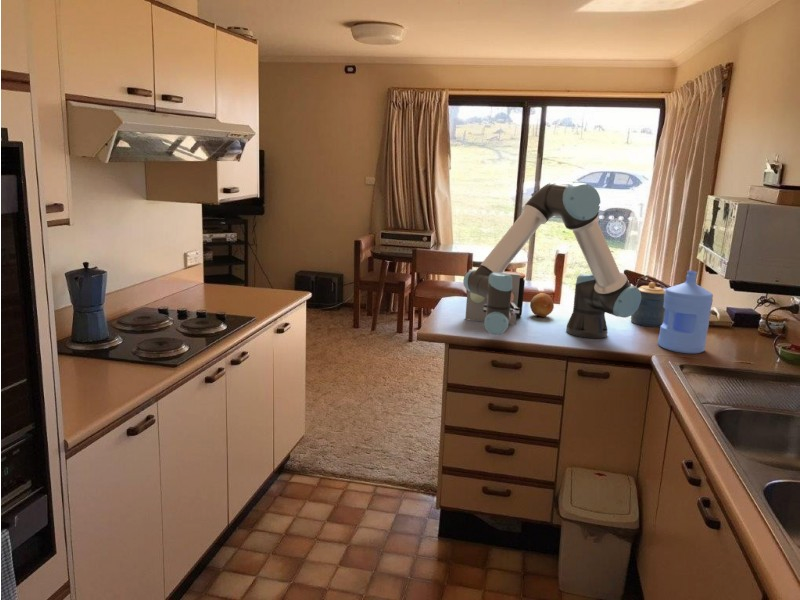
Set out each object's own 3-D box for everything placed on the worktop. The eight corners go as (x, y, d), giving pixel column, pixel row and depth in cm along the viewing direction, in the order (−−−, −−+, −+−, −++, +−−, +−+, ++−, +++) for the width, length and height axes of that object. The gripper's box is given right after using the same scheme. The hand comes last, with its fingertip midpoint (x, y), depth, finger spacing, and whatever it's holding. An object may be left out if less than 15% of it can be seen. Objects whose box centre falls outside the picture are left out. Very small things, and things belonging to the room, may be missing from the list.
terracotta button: (498, 300, 249) (500, 285, 247) (513, 301, 247) (515, 287, 246) (497, 304, 240) (498, 289, 239) (512, 306, 239) (514, 291, 238)
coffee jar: (520, 313, 262) (524, 272, 259) (522, 319, 252) (526, 276, 248) (495, 312, 263) (498, 270, 260) (496, 317, 253) (500, 275, 249)
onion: (523, 314, 261) (526, 291, 259) (540, 312, 266) (542, 290, 264) (540, 320, 253) (543, 296, 251) (557, 317, 258) (559, 294, 256)
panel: (466, 317, 251) (469, 269, 246) (515, 322, 246) (520, 273, 242) (465, 319, 248) (468, 270, 243) (515, 324, 244) (519, 274, 239)
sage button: (471, 297, 251) (473, 283, 249) (486, 299, 249) (487, 284, 248) (469, 302, 243) (470, 287, 241) (484, 303, 241) (485, 288, 240)
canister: (641, 327, 249) (647, 285, 245) (624, 319, 261) (629, 279, 257) (670, 327, 251) (676, 285, 248) (651, 319, 264) (657, 279, 260)
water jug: (679, 340, 232) (690, 267, 226) (714, 352, 217) (727, 275, 212) (647, 343, 226) (658, 268, 220) (681, 355, 212) (693, 276, 206)
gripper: (479, 323, 212) (486, 308, 234) (517, 327, 209) (521, 312, 232) (481, 301, 210) (488, 289, 233) (519, 305, 207) (523, 293, 230)
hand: (504, 301), depth 232 cm, fingers closed
